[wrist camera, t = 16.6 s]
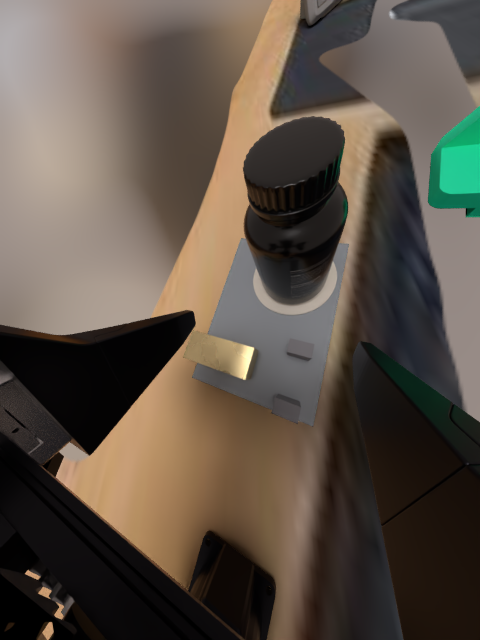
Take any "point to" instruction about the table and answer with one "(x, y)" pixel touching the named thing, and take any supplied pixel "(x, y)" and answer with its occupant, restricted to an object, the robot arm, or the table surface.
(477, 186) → the camera mount
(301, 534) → the table surface
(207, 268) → the table surface
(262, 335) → the dock board
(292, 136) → the supplement bottle
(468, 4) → the table surface
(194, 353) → the bar
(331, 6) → the digital clock
